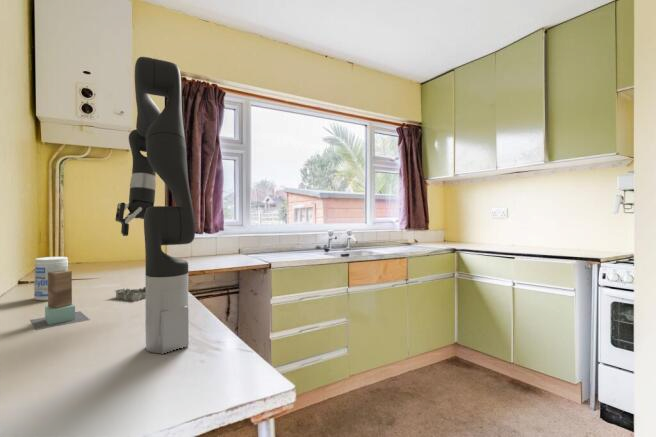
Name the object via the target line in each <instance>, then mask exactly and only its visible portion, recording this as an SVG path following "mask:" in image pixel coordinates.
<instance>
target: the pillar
mask: <svg viewBox="0 0 656 437" xmlns="http://www.w3.org/2000/svg"><path fill="white" fill-rule="evenodd" d="M72 272H73V271H71V270H68V271H65V270H61V271H54V272H48V300H47V306H48V307H51V308H56V309H57V308H62V307H66V306H70V305H72V304H73V291H72V290H73V283H72V282H73V277H72V274H73V273H72Z"/></svg>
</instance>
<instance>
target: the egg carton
mask: <svg viewBox="0 0 656 437" xmlns="http://www.w3.org/2000/svg"><path fill="white" fill-rule="evenodd" d="M113 290H114V292H115V299H117V300H119V299H121V300H124V301H128V300H129V301H130V300H131V301H132V302H136V301H141V300H142V299H145V298H144V297H146V286H144V287H142V288H141V287H140V288H133V289H130V288H126V289H125V288H123V289H122V288H120V289H119V288H117V290H116V289H113ZM141 298H142V299H141ZM140 299H141V300H140ZM135 300H136V301H135Z"/></svg>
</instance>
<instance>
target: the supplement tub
mask: <svg viewBox="0 0 656 437" xmlns="http://www.w3.org/2000/svg"><path fill="white" fill-rule="evenodd" d="M61 270H65V271H69V257H67V256H45V257H37V258H35V261H34V279H33V280H34V282H33V283H34V284H33V286H34V287H33V288H34V289H33V290H34V292H33V296H34V299H35V300H36V301H48V272H54V271H61Z"/></svg>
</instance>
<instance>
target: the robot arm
mask: <svg viewBox="0 0 656 437" xmlns="http://www.w3.org/2000/svg"><path fill="white" fill-rule="evenodd" d="M134 88H135V89H134V91H135V92H134V93H135V102H136V103H135V104H136V112H137V115H136V125H135V126H136V127H135V128H136V129H133V130H131V132H129V134H128V144H129V147H130V151H131V157H132V166H131V167H132V169H131V176H130V184H129V197H128V203H125V202H120V203H117V207H116V213H115V218H114V219H115V222H118V223H120V224H121V230H120V233H121V235H122V236H123V237H128V236H129V232H130V231H129V230H130V224H129V223H130V222H131V221H132V220H133V219H141V220H143V232H144V233H143V234H144V236H143V237H144V250H145V252H144V253H145V287H146V298H145V351H147V352H149V353H155V354H156V353H157V354H161V355H164V353H165V354H168V353H171V352H174V351H173V350H175V351H177V350H176V349H178V350H180V349H179V348H182V347H185V348H187V347H186V346H188V345H189V340H190V339H189V331H190V330H189V328H190V327H189V319H190V318H189V316H190V315H189V263H188V261H187V260H185V259H182V258H178V257H174V256H172V255H169V254H167V253H165V252H164V251H163V248H162V246H176V245H177V246H178V245H179V246H180V245H188V244H191V243H192V242H193V241H194V239H195V236H196V221H195V219H196V218H195V213H194V212H195V211H194V206H193V200H192V196H191V190H190V183H189V173H188V159H187V158H188V156H187V144H186V136H185V129H184V120H183V107H182V106H183V105H182V104H183V103H182V76H181V71H180V68H179V66H178V64H175V63H174V62H172V61H167V60H163V59H158V58H152V57H148V56H140V57H138V58H137V59H136V61H135V65H134ZM150 95H151V96H157V97H164V98H167V102H166V104H165V106H164V108H163V110H162V111H161V110H160V108H159V106H158V105H157V104H156V103H155V102H154V101H153V99H152V98H151V96H150ZM141 152H144V153H146V155H144V154H142V153H141ZM156 175H157V176H158V177H159V178H160V179H161V180H162V182H163V183H164V184H165V185H166V187H167V188H168V189H169V191H170V193H171V195H172V197H173V199H174V203H175V206H172V205H171V206H170V205H168V206H167V205H165V206H164V205H163V206H160V205H158V206H157V205H155V200H156V185H157V183H156V182H157V181H156ZM126 210H127V211H128V214H126V215H125V217H124V214H125V211H126ZM188 347H189V346H188ZM182 349H183V348H182ZM170 351H171V352H170ZM167 352H168V353H167Z"/></svg>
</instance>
